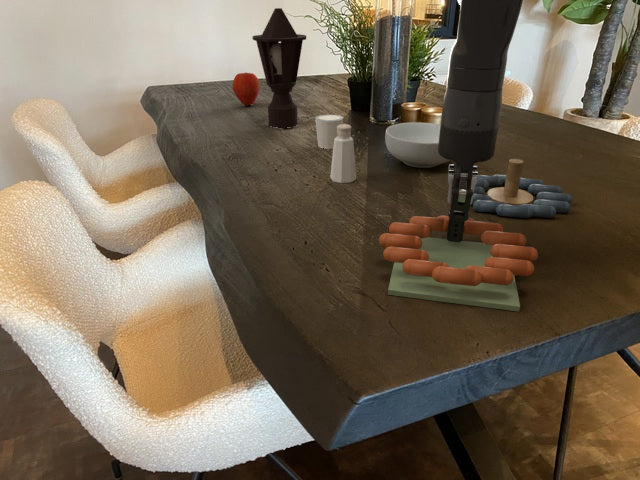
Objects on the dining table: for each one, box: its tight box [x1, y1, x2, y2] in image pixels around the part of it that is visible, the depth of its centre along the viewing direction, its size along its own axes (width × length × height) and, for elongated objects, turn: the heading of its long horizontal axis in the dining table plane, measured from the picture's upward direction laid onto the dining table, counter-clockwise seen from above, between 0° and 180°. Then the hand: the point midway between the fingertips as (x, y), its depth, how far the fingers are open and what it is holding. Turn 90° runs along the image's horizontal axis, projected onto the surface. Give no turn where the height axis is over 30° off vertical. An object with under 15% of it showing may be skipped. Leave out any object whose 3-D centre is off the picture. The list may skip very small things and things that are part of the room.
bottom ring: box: [470, 174, 573, 219], centre depth 89 cm, size 21×17×2 cm
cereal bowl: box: [384, 121, 451, 169], centre depth 107 cm, size 17×17×7 cm
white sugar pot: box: [314, 114, 344, 150], centre depth 119 cm, size 7×7×7 cm
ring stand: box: [486, 158, 534, 206], centre depth 88 cm, size 8×8×8 cm
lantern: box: [251, 7, 307, 128], centre depth 131 cm, size 15×15×30 cm
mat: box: [387, 236, 521, 313], centre depth 68 cm, size 16×16×1 cm
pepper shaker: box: [329, 123, 357, 184], centre depth 98 cm, size 5×5×11 cm
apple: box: [232, 71, 260, 106], centre depth 158 cm, size 9×8×11 cm
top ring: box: [378, 215, 539, 286], centre depth 67 cm, size 21×17×2 cm
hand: (454, 235), depth 74 cm, fingers closed on top ring, 2 cm apart
